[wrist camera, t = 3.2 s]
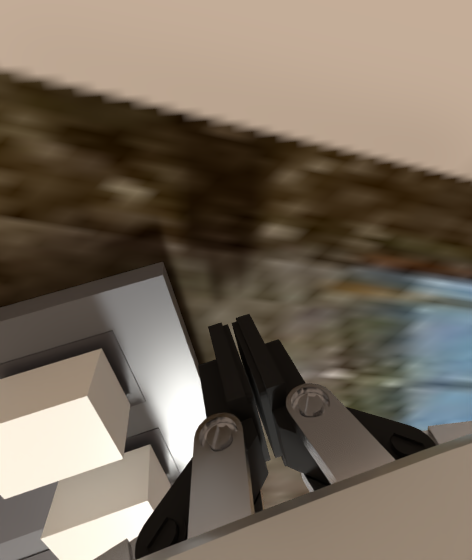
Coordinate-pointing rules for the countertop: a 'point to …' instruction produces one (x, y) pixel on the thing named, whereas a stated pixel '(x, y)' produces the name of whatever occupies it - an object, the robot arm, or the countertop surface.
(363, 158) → the countertop surface
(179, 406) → the switch panel
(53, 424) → the tab
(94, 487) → the tab
